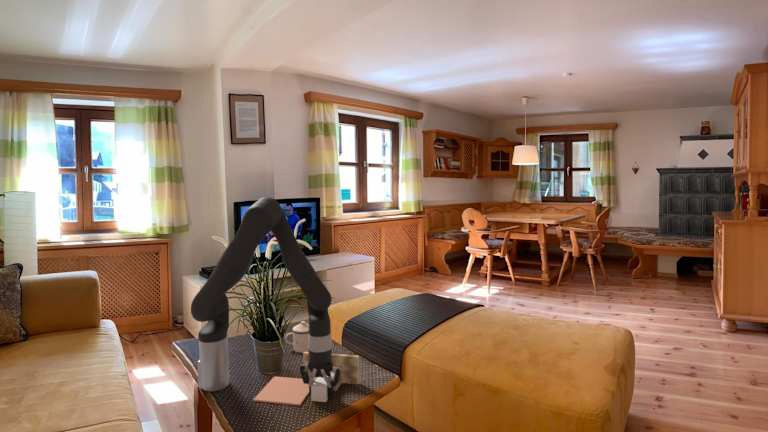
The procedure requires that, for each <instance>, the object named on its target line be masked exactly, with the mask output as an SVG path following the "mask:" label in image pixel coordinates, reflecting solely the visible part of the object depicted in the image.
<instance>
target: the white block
mask: <svg viewBox="0 0 768 432" xmlns="http://www.w3.org/2000/svg"><path fill="white" fill-rule="evenodd" d="M330 373H331V376H332V380H333V381H334V377H335V374H334V372H332V371H331V372H330ZM327 387H328V386H327V383H326V382H325V380H324V378H322V377H317V378H316V380H315V381H314V383H313V384H312V386H311V395H310V398H311V399H310V401H311V402H319V403H322V402H323V403H327V402H328V400H329V398H328V397H327Z"/></svg>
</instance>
